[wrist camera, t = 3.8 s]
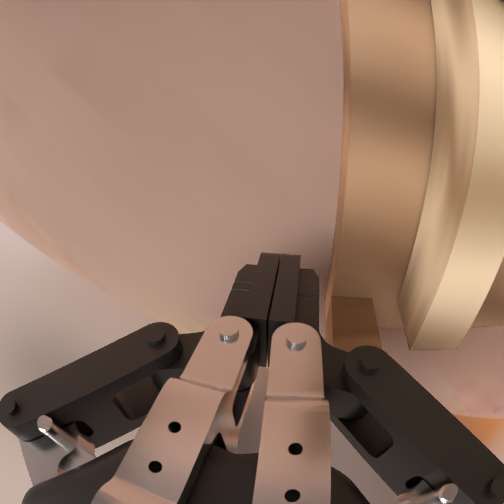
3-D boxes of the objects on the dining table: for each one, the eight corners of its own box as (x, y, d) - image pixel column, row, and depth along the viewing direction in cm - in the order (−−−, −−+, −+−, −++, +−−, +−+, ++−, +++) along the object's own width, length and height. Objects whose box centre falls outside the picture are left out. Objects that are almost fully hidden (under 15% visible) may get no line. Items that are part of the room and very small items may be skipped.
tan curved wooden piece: (424, -29, 4) (463, -64, 1) (476, -8, 4) (525, -27, 1) (396, 300, 12) (412, 363, 9) (438, 302, 12) (461, 360, 8)
